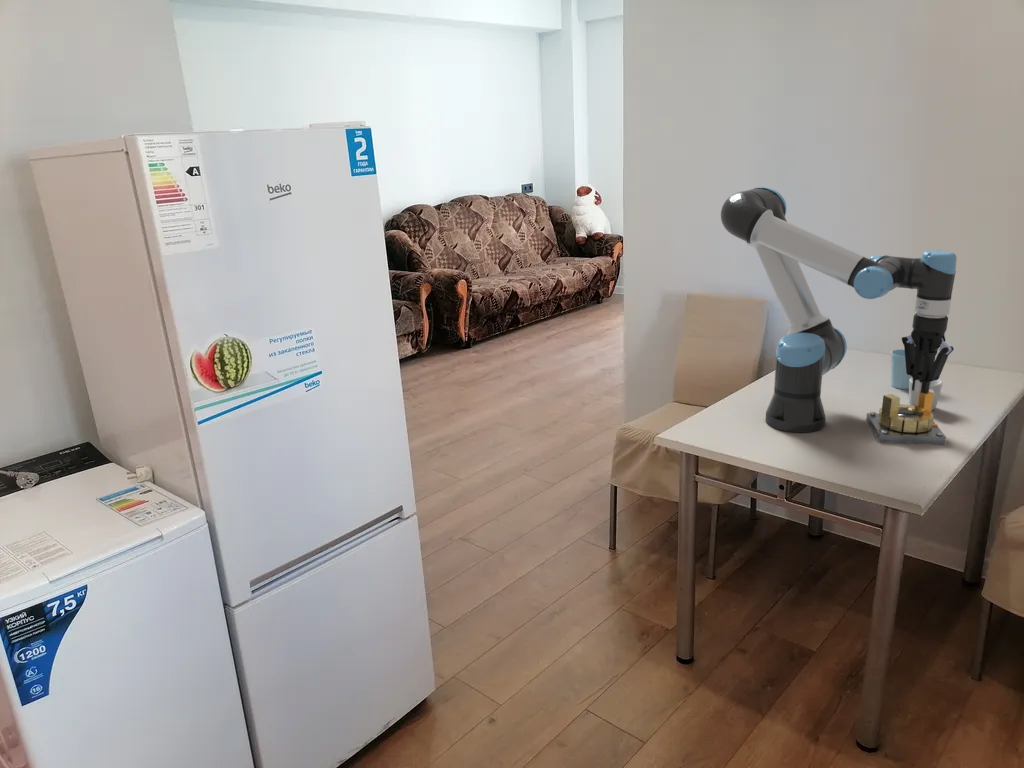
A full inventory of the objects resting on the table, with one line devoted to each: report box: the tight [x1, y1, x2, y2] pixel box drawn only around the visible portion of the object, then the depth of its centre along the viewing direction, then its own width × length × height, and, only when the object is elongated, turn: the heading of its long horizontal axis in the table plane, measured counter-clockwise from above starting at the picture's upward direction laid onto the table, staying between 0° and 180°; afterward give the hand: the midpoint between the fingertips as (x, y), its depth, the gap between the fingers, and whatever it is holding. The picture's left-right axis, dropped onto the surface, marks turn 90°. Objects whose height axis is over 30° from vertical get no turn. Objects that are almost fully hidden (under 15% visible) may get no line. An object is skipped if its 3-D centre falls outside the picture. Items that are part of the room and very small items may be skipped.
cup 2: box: [908, 378, 943, 411], centre depth 207 cm, size 11×8×8 cm
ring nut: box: [878, 391, 935, 433], centre depth 193 cm, size 12×12×8 cm
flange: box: [865, 410, 947, 446], centre depth 194 cm, size 15×15×5 cm
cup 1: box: [890, 348, 912, 390], centre depth 225 cm, size 8×8×10 cm
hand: (918, 404), depth 195 cm, fingers closed
